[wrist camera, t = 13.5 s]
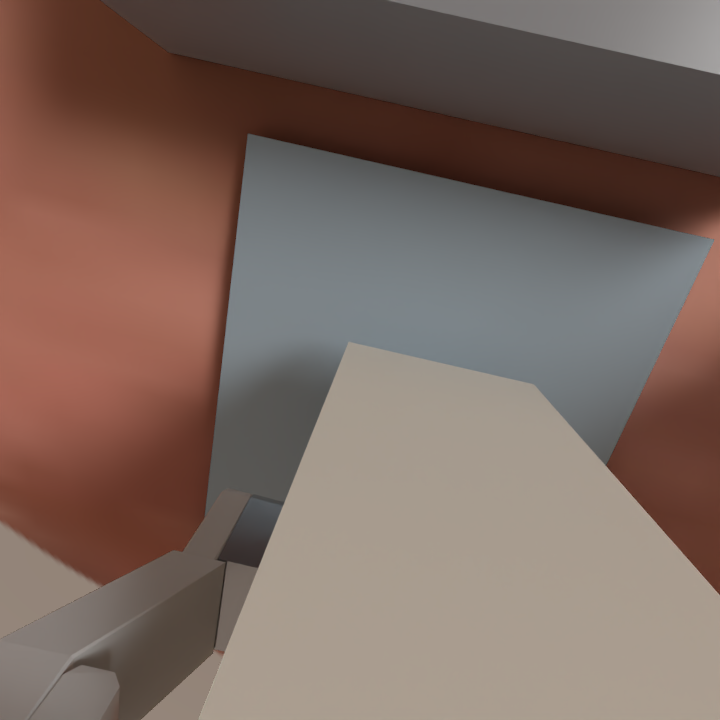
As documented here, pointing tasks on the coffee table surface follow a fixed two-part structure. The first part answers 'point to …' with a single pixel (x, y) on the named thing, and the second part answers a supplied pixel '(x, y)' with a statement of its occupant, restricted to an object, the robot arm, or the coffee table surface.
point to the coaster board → (428, 299)
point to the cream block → (464, 569)
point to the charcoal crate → (484, 61)
